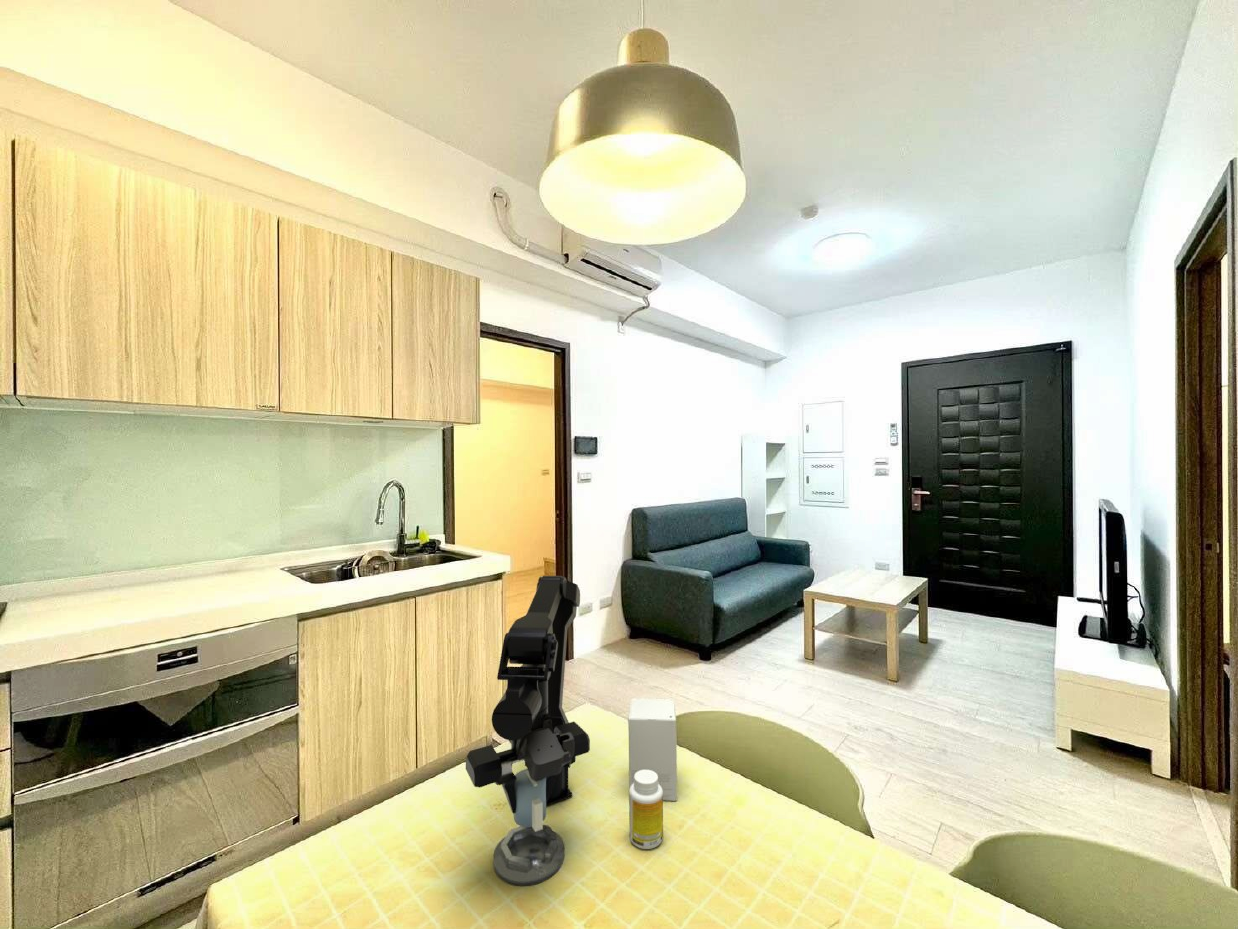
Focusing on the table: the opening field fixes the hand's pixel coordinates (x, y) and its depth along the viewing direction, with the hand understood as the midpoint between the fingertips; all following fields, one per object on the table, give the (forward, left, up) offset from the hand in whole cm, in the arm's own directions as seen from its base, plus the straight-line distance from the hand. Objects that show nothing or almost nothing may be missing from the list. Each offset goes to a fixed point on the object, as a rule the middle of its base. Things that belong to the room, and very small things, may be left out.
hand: (529, 805), depth 80 cm
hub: (0, 0, -8) cm, 8 cm away
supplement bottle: (-18, +6, -8) cm, 21 cm away
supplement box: (-27, -5, -8) cm, 29 cm away
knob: (0, 0, -2) cm, 2 cm away
